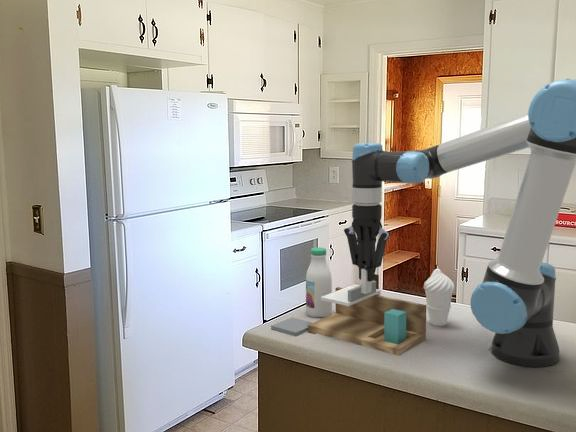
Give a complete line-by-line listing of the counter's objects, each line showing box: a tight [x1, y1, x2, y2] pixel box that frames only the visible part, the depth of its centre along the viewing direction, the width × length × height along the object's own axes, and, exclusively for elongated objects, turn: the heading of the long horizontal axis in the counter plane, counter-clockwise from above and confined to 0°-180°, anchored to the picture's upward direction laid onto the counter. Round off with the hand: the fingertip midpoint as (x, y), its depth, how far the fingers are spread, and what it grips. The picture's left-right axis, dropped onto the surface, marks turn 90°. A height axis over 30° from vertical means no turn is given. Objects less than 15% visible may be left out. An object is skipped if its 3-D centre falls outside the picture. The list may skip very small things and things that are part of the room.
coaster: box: [270, 316, 313, 337], centre depth 159 cm, size 9×9×1 cm
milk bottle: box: [305, 247, 333, 318], centre depth 169 cm, size 8×8×20 cm
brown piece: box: [307, 286, 427, 357], centre depth 151 cm, size 28×14×10 cm, turn 49°
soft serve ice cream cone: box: [423, 268, 455, 327], centre depth 159 cm, size 8×8×16 cm
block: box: [384, 309, 406, 345], centre depth 146 cm, size 4×4×8 cm
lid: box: [321, 281, 381, 306], centre depth 154 cm, size 9×15×11 cm, turn 139°
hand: (366, 292), depth 150 cm, fingers closed
